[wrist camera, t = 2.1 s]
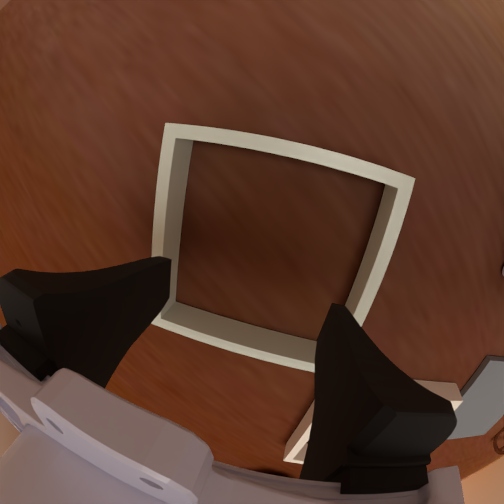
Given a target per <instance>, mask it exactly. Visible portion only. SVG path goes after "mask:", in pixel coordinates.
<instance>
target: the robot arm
mask: <svg viewBox="0 0 504 504" xmlns="http://www.w3.org/2000/svg"><path fill="white" fill-rule="evenodd" d="M171 263H172V259H169V258H166V257H162V256H155V257H150V258H146V259H142V260H138V261H134V262H130V263H126V264H122V265H118V266H113V267H109V268H104V269H99V270H92V271H85V272H69V273H49V272H36V271H29V270H22V269H15V270H13V271H11V272H9V273H7V274H5V275H4V276H2V277H0V305H1V308H2V311H3V314H4V317H5V320H6V323H7V325H6V326H4V327H3V328H2V326H1V324H0V411H1V412H2V413H3V414H4V416H5V417H6V418H7V419H8V420H9V421H10V422H11V423H12V425H13V426H14V427H15V428H16V429H17V430H18V431H19V432H20V433H21V434H20V435H19V436H18V437H17V438H16V440H15V441H14V442H13V443H12V444H11V446H10V447H9V448H8V449H7V450H6V452H5V453H4V454H3V455H2V457H1V458H0V504H464V498H463V492H462V486H461V480H460V475H459V470H458V466H451V467H445V468H438V469H434V470H432V471H429V472H427V467H426V465H428V464H430V462H431V457H430V453H431V452H433V451H434V450H435V449H436V448H437V447H439V446H440V445H441V444H442V443H443V442H444V441H445V440H446V439H447V438H448V437H449V436H450V435H451V434H452V432H453V431H454V429H455V427H456V425H457V418H456V415H455V412H454V409H453V406H452V403H451V401H449V400H447V399H445V398H443V397H441V396H439V395H437V394H435V393H433V392H431V391H430V390H428V389H427V388H425V387H423V386H422V385H420V384H419V383H417V382H416V381H414V380H413V379H412V378H410V377H409V376H408V375H407V374H405V373H404V372H403V371H402V370H400V369H399V368H398V367H397V366H396V365H395V364H393V363H392V362H391V361H390V360H389V359H388V358H387V357H386V356H385V355H384V354H383V353H382V352H381V351H380V350H379V348H378V347H377V346H376V345H375V344H374V343H373V341H372V340H371V339H370V338H369V336H368V335H367V334H366V333H365V331H364V330H363V329H362V327H361V326H360V325H359V323H358V322H357V321H356V319H355V318H354V316H353V315H352V314H351V312H350V311H349V310H348V309H347V307H346V306H343V305H339V304H335V303H332V304H331V307H330V309H329V312H328V314H327V317H326V319H325V322H324V324H323V327H322V329H321V331H320V334H319V336H318V339H317V344H316V351H315V398H314V411H313V418H312V424H311V430H310V436H309V441H308V446H307V450H306V454H305V459H304V463H303V467H302V470H301V474H300V477H299V479H295V478H288V477H282V476H276V475H271V474H265V473H261V472H256V471H251V470H247V469H243V468H239V467H235V466H231V465H228V464H224V463H221V462H217V461H214V460H213V459H214V457H213V455H212V453H211V450H210V448H209V446H208V445H207V443H205V442H204V441H203V440H202V439H200V438H199V437H198V436H197V435H195V434H194V433H193V432H192V431H190V430H188V429H186V428H184V427H182V426H180V425H178V424H176V423H174V422H172V421H170V420H168V419H166V418H164V417H161V416H159V415H157V414H154V413H152V412H150V411H148V410H145V409H143V408H141V407H139V406H137V405H135V404H133V403H131V402H129V401H127V400H125V399H123V398H121V397H119V396H117V395H115V394H113V393H112V392H110V391H108V390H106V389H105V387H106V385H107V383H108V381H109V379H110V378H111V376H112V374H113V373H114V371H115V369H116V368H117V366H118V364H119V363H120V361H121V360H122V358H123V357H124V355H125V354H126V352H127V351H128V349H129V348H130V347H131V345H132V344H133V343H134V342H135V341H136V340H137V338H138V337H139V336H140V335H141V334H142V333H143V332H144V331H145V329H146V328H147V327H148V326H149V325H150V324H151V323H152V321H153V320H154V319H155V318H156V317H157V316H158V315H159V313H160V312H161V310H162V309H163V307H164V306H165V304H166V303H167V301H168V299H169V298H170V280H171ZM502 275H503V276H504V267H503V270H502Z"/></svg>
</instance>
